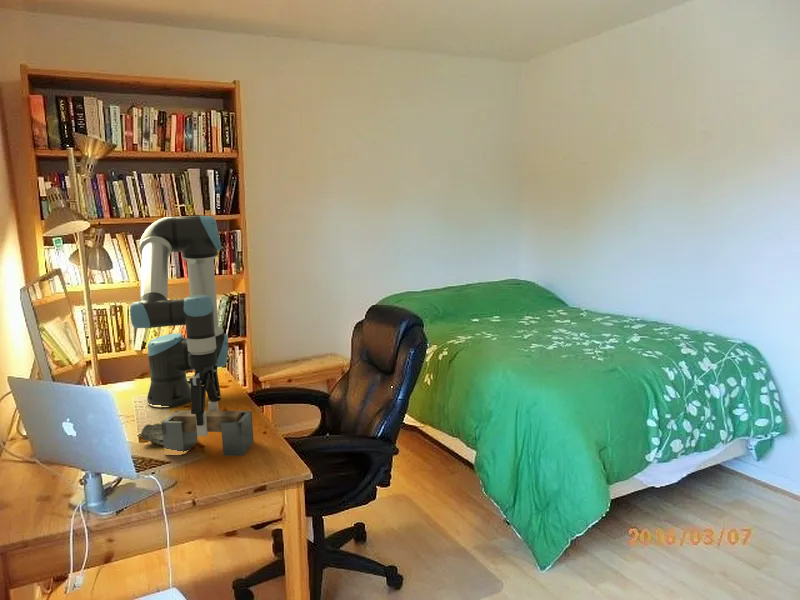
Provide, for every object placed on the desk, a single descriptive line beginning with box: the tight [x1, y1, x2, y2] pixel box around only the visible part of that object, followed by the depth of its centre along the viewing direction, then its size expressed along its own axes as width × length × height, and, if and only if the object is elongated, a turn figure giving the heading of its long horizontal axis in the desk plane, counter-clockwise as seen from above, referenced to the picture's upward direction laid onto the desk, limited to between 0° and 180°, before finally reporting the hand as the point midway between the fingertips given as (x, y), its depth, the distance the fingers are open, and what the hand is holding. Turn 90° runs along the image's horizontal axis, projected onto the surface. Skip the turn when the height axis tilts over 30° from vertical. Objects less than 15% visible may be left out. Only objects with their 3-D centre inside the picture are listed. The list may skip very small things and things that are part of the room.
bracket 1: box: [161, 410, 199, 452], centre depth 173 cm, size 9×6×10 cm, turn 176°
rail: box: [173, 410, 242, 433], centre depth 171 cm, size 18×4×4 cm, turn 86°
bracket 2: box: [221, 410, 255, 457], centre depth 171 cm, size 9×6×10 cm, turn 176°
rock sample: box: [139, 422, 164, 446], centre depth 178 cm, size 10×8×9 cm
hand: (208, 429), depth 172 cm, fingers open, 8 cm apart
